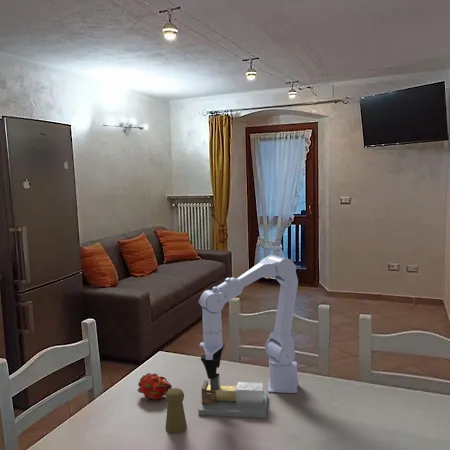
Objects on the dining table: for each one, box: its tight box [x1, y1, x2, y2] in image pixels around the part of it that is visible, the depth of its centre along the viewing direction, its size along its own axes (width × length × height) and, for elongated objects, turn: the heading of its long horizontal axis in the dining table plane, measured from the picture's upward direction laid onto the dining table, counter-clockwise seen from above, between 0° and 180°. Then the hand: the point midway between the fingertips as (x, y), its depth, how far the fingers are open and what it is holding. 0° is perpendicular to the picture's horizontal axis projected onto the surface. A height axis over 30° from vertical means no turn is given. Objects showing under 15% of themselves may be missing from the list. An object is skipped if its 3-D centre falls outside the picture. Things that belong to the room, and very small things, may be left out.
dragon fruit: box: [136, 372, 173, 402], centre depth 139 cm, size 8×8×12 cm
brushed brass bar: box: [206, 372, 237, 401], centre depth 132 cm, size 12×3×7 cm, turn 82°
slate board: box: [197, 392, 268, 419], centre depth 133 cm, size 20×12×2 cm, turn 82°
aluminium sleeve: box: [236, 381, 265, 407], centre depth 132 cm, size 8×5×5 cm, turn 82°
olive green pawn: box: [165, 387, 188, 435], centre depth 121 cm, size 6×6×11 cm
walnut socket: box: [201, 379, 216, 405], centre depth 133 cm, size 4×6×5 cm
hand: (213, 372), depth 133 cm, fingers open, 7 cm apart
